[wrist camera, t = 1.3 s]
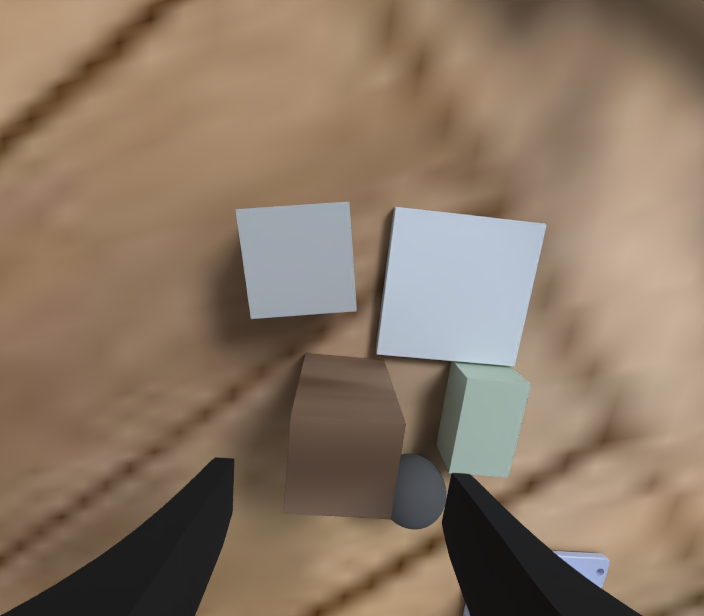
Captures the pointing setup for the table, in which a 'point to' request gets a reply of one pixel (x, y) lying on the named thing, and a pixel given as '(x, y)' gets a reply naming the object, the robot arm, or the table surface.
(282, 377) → the table surface
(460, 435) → the sage green slab
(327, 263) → the grey stone cube
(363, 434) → the walnut block
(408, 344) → the coaster
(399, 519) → the black rubber ball
